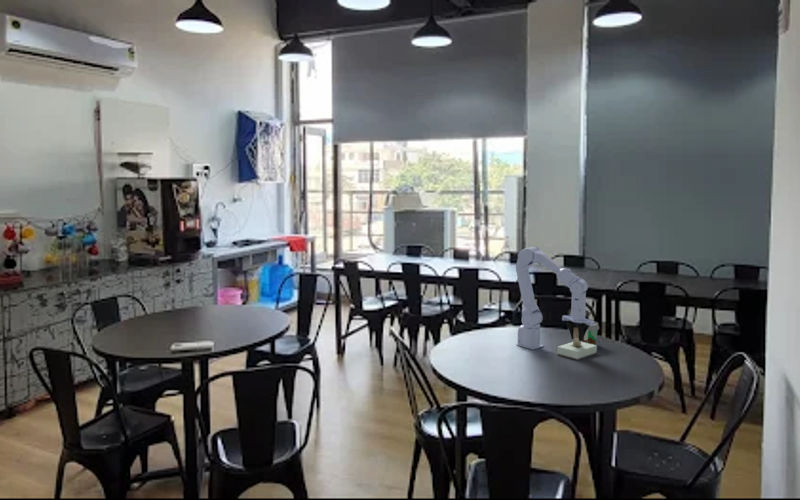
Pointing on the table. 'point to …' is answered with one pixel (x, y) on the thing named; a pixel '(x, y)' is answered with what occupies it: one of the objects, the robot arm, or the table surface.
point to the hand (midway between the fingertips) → (577, 339)
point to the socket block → (576, 350)
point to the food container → (591, 334)
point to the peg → (576, 338)
